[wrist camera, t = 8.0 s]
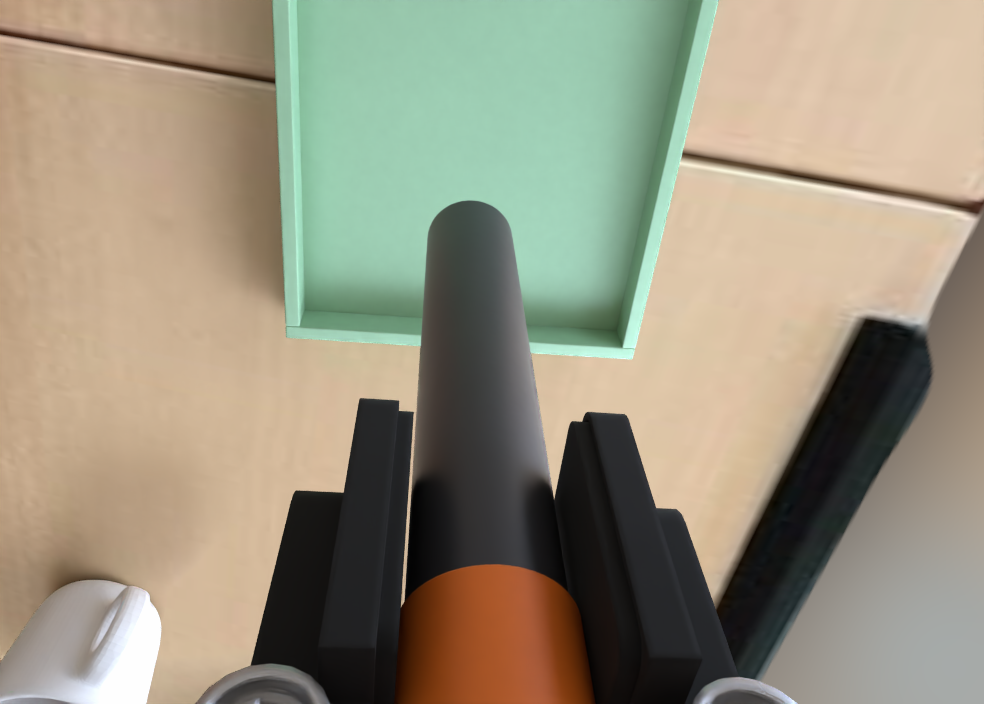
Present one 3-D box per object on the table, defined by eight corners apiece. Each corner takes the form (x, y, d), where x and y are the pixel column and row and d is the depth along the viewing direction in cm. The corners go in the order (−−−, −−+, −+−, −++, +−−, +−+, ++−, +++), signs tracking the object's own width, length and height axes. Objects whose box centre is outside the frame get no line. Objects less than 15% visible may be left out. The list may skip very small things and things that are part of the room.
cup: (91, 509, 41) (22, 639, 34) (228, 571, 44) (189, 702, 37) (11, 619, 45) (-65, 754, 39) (140, 669, 48) (91, 802, 42)
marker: (426, 190, 18) (376, 853, 6) (522, 198, 18) (654, 854, 6) (420, 277, 19) (369, 973, 7) (510, 284, 19) (603, 971, 7)
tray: (272, -287, 24) (258, -297, 22) (751, -220, 25) (773, -226, 24) (293, 313, 35) (286, 338, 34) (623, 335, 37) (632, 360, 35)
